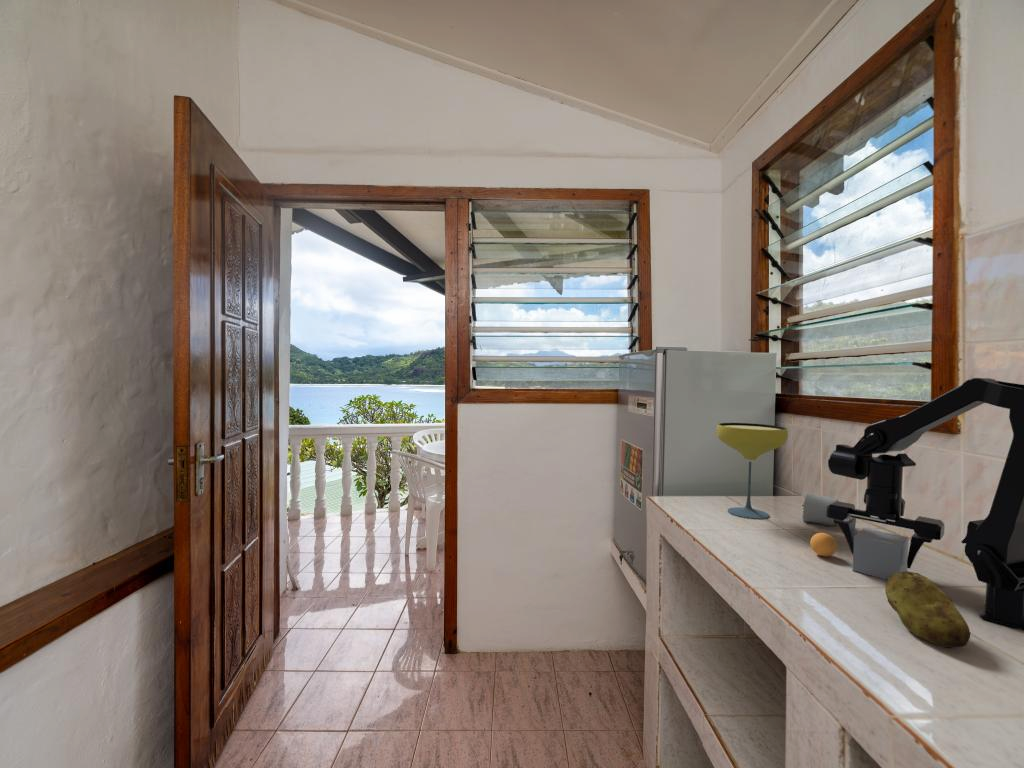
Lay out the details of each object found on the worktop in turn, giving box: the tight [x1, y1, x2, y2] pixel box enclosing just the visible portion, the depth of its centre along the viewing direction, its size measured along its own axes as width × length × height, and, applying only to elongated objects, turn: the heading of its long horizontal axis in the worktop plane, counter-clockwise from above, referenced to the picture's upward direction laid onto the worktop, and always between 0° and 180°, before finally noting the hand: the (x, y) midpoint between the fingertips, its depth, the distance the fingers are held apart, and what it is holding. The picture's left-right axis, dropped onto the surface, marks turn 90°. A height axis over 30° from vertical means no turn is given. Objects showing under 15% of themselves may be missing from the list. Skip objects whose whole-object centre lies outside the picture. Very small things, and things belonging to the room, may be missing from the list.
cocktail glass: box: [716, 422, 789, 520], centre depth 143 cm, size 18×18×25 cm
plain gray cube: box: [852, 527, 910, 581], centre depth 102 cm, size 8×8×7 cm
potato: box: [884, 570, 972, 649], centre depth 79 cm, size 8×13×8 cm, turn 158°
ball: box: [809, 532, 838, 557], centre depth 111 cm, size 5×5×5 cm
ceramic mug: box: [802, 492, 839, 527], centre depth 137 cm, size 11×8×8 cm
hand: (880, 560), depth 102 cm, fingers open, 9 cm apart
